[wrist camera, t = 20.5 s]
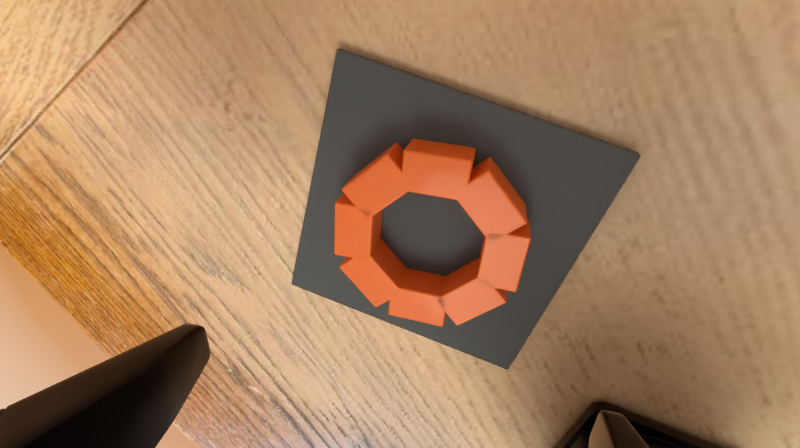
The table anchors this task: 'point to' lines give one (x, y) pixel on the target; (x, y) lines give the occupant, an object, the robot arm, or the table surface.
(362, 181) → the orange ring
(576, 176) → the grey mat
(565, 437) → the robot arm
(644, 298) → the table surface
